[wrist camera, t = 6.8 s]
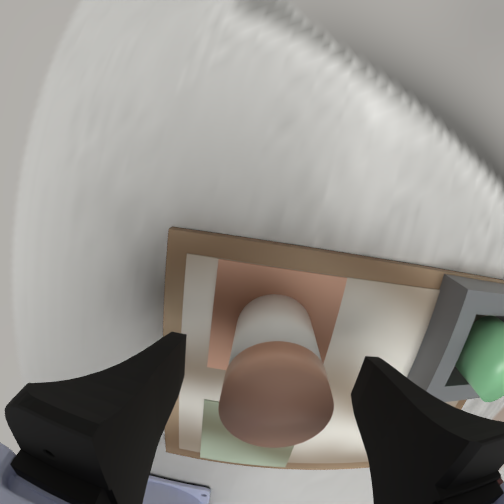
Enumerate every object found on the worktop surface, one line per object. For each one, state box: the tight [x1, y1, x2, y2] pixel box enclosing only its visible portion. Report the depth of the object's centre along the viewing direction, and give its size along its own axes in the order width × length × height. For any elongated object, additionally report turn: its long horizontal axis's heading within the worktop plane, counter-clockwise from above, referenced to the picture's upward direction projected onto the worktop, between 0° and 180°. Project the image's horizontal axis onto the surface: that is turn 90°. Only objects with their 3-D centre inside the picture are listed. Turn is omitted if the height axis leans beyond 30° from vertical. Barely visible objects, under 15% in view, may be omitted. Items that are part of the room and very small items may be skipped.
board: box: [163, 227, 504, 470], centre depth 16 cm, size 16×21×1 cm
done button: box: [455, 315, 504, 402], centre depth 12 cm, size 4×4×3 cm
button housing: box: [407, 274, 504, 402], centre depth 14 cm, size 7×7×2 cm
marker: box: [218, 294, 334, 448], centre depth 12 cm, size 4×4×6 cm
